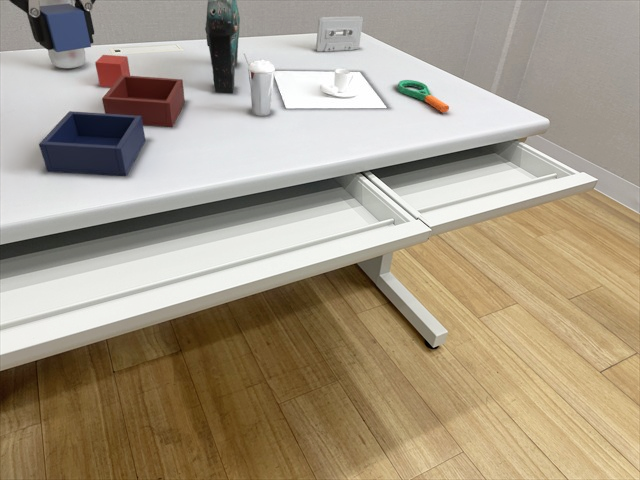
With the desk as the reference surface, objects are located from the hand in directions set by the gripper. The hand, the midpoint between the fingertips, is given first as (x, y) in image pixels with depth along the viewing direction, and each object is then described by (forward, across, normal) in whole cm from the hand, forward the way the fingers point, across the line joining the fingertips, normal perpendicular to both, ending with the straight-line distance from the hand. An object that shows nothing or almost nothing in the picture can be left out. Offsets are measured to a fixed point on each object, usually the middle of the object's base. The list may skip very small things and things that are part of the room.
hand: (66, 42), depth 63 cm
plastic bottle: (+15, +11, +33) cm, 37 cm away
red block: (+15, +14, +20) cm, 28 cm away
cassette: (+15, +69, +13) cm, 71 cm away
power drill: (+15, +33, +12) cm, 38 cm away
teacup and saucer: (+15, +47, -4) cm, 50 cm away
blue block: (0, 0, 0) cm, 0 cm away
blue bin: (+15, -1, -4) cm, 15 cm away
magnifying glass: (+15, +61, -19) cm, 65 cm away
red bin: (+15, +12, +5) cm, 20 cm away
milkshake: (+15, +28, -6) cm, 33 cm away
